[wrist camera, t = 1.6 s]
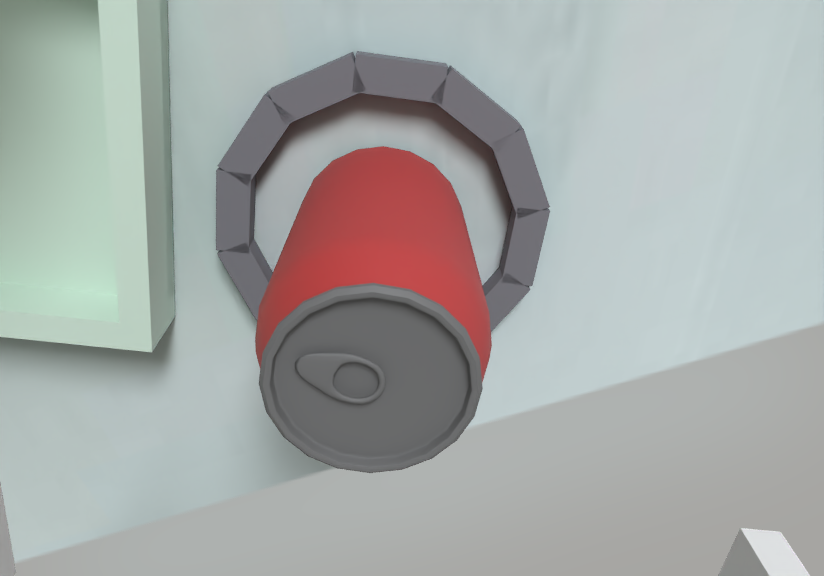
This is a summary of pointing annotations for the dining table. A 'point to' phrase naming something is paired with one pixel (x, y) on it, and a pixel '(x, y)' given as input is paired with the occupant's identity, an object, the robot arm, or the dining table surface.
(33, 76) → the bin
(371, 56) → the socket ring
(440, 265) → the beer can
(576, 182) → the dining table surface
